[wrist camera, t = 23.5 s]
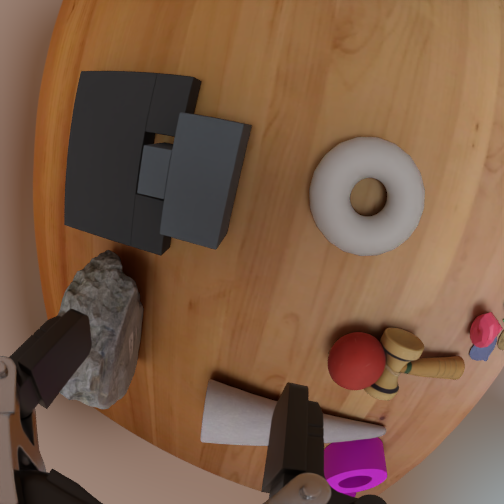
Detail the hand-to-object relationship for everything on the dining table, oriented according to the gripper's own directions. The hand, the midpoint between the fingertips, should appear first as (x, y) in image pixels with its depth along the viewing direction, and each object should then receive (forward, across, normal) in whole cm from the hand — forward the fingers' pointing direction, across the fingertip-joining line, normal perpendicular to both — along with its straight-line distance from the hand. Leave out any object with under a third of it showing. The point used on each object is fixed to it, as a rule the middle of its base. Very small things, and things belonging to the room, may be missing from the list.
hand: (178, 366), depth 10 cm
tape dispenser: (+18, -25, +34) cm, 46 cm away
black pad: (+18, +13, -4) cm, 23 cm away
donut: (+18, -9, -6) cm, 21 cm away
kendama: (+18, -20, +10) cm, 29 cm away
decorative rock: (+18, +11, +14) cm, 25 cm away
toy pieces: (+18, -33, +4) cm, 38 cm away
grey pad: (+18, +6, -3) cm, 19 cm away
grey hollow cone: (+18, -13, +22) cm, 31 cm away
